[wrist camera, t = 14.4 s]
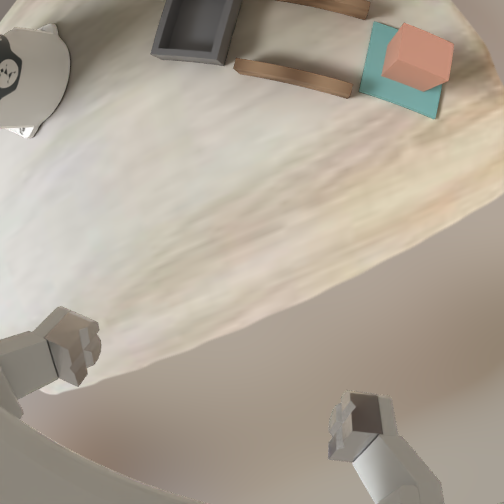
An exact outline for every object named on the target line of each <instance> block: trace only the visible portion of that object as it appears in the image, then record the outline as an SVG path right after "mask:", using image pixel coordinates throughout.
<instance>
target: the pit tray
mask: <svg viewBox="0 0 504 504" xmlns="http://www.w3.org/2000/svg"><path fill="white" fill-rule="evenodd" d="M241 4H242V0H166V3H165V6H164V10H163V13H162V16H161V19H160V22H159V26H158V29H157V33H156V36H155V40H154V43H153V47H152V50H151V55H153V56H155V57H157V58H160V59H162V60H175V61H187V62H197V63H206V64H214V65H222V66H224V65H225V61H226V57H227V54H228V50H229V46H230V42H231V39H232V35H233V31H234V28H235V24H236V21H237V17H238V14H239V10H240V7H241Z"/></svg>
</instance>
